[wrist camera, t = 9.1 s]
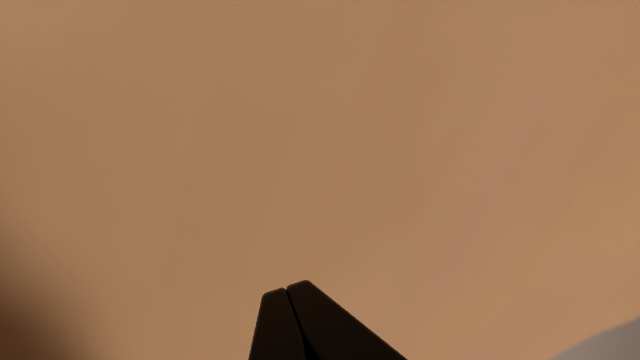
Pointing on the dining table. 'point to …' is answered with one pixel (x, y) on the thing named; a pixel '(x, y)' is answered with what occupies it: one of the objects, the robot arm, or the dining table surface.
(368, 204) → the dining table surface
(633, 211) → the dining table surface
